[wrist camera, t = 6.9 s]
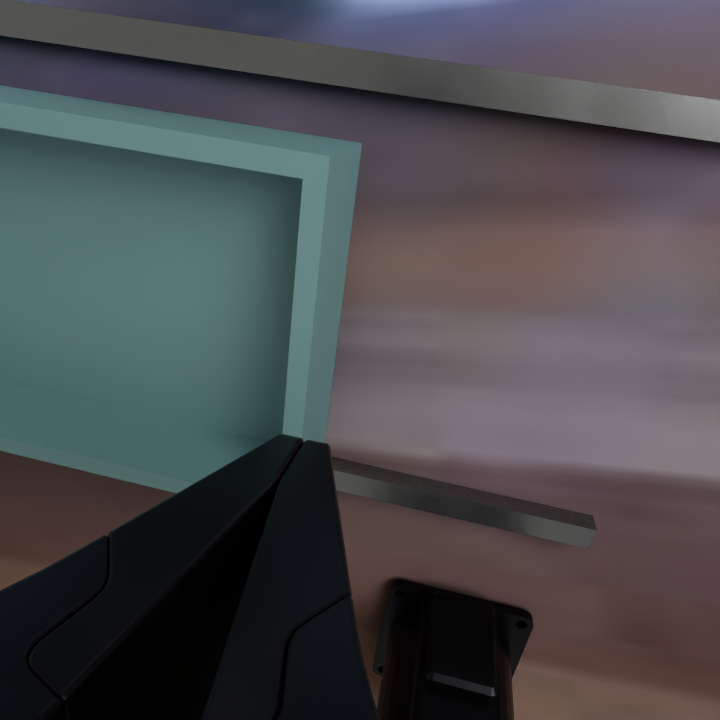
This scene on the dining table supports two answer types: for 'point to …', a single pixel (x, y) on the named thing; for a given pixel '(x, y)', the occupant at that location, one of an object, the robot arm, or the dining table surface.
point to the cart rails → (408, 80)
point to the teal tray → (165, 285)
